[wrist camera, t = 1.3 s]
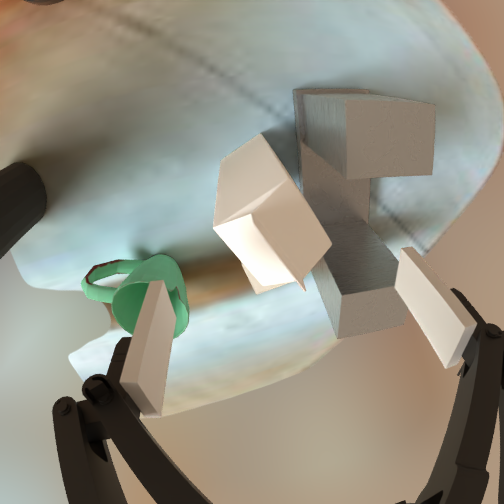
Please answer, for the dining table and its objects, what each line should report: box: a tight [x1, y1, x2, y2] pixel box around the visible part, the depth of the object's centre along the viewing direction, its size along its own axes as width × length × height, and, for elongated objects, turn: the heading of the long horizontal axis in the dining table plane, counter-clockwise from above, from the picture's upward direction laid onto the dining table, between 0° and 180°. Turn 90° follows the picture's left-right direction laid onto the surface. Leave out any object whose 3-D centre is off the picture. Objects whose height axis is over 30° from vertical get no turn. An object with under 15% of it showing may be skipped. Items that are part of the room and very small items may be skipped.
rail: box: [293, 89, 435, 339], centre depth 31 cm, size 24×9×16 cm, turn 6°
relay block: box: [241, 262, 290, 295], centre depth 40 cm, size 5×5×6 cm
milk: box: [213, 133, 332, 292], centre depth 27 cm, size 6×6×22 cm
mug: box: [81, 254, 189, 339], centre depth 38 cm, size 15×10×10 cm
